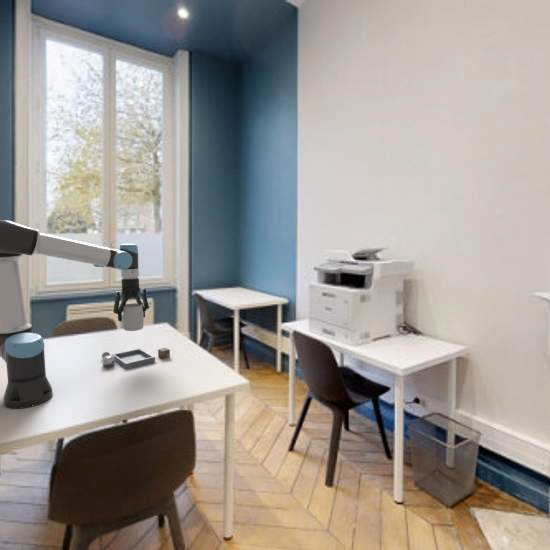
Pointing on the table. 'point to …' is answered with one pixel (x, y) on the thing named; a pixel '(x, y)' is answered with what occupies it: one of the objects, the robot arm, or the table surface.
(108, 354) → the rubber ball
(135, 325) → the mug
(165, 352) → the walnut block
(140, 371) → the table surface
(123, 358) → the tray
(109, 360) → the chrome bearing sphere
